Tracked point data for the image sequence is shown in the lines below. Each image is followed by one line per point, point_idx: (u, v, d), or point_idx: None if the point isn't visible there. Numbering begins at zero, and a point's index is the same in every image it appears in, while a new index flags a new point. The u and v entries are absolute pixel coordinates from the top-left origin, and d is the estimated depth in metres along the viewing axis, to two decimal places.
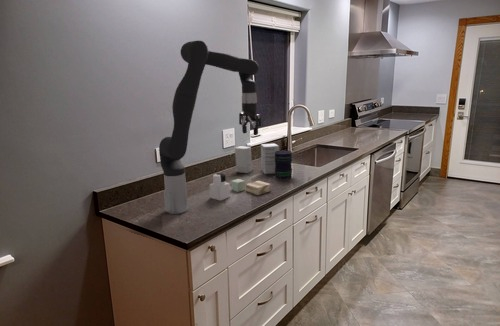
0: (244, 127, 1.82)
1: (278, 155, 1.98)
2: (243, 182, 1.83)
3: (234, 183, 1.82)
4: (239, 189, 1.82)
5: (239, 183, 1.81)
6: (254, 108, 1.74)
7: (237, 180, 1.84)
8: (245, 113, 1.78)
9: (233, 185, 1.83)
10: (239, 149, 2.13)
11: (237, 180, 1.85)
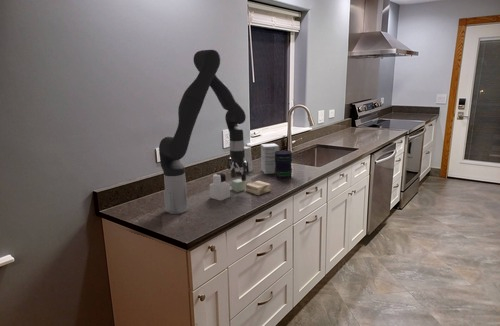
0: (233, 172, 1.86)
1: (278, 155, 1.98)
2: (243, 182, 1.83)
3: (234, 183, 1.82)
4: (239, 189, 1.82)
5: (239, 183, 1.81)
6: (242, 155, 1.78)
7: (237, 180, 1.84)
8: (233, 159, 1.82)
9: (233, 185, 1.83)
10: None
11: (237, 180, 1.85)
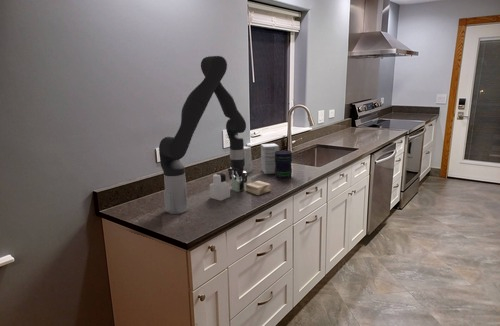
0: None
1: (278, 155, 1.98)
2: None
3: (234, 183, 1.82)
4: (239, 189, 1.82)
5: (239, 183, 1.81)
6: (242, 164, 1.79)
7: (237, 180, 1.84)
8: (233, 167, 1.83)
9: (233, 185, 1.83)
10: None
11: (237, 179, 1.85)
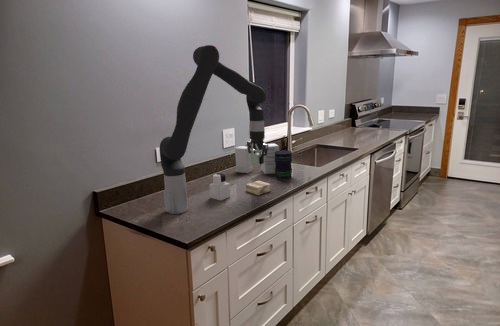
0: None
1: (278, 155, 1.98)
2: None
3: (253, 156, 1.76)
4: None
5: (259, 156, 1.75)
6: (262, 136, 1.73)
7: (256, 153, 1.78)
8: (252, 140, 1.77)
9: (252, 158, 1.77)
10: (239, 149, 2.13)
11: (256, 153, 1.79)
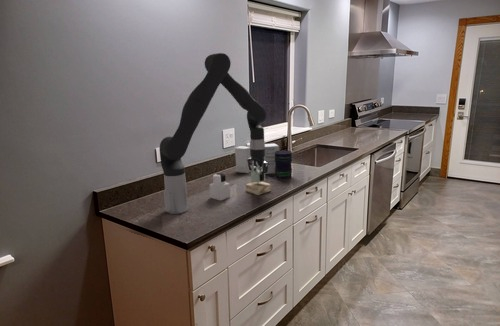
0: None
1: (278, 155, 1.98)
2: None
3: (254, 174, 1.78)
4: (259, 180, 1.78)
5: (259, 173, 1.77)
6: (262, 154, 1.75)
7: (257, 171, 1.80)
8: (253, 158, 1.79)
9: (253, 176, 1.79)
10: (239, 149, 2.13)
11: (257, 170, 1.81)
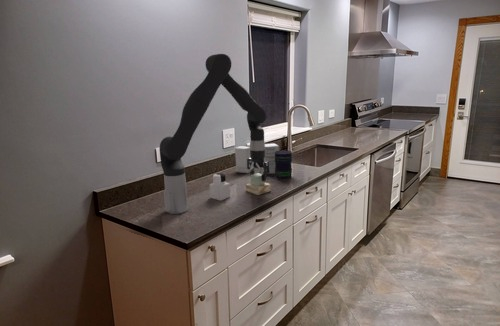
0: (252, 172, 1.83)
1: (278, 155, 1.98)
2: None
3: (253, 177, 1.79)
4: (259, 183, 1.78)
5: (259, 177, 1.78)
6: (262, 155, 1.75)
7: (256, 174, 1.81)
8: (253, 159, 1.79)
9: (252, 179, 1.80)
10: (239, 149, 2.13)
11: (256, 174, 1.81)
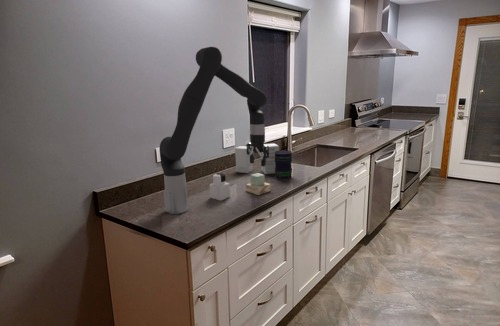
0: (251, 157, 1.81)
1: (278, 155, 1.98)
2: (263, 176, 1.79)
3: (253, 177, 1.79)
4: (258, 183, 1.79)
5: (258, 177, 1.78)
6: (262, 139, 1.73)
7: (256, 174, 1.81)
8: (253, 144, 1.77)
9: (252, 179, 1.80)
10: (239, 149, 2.13)
11: (256, 174, 1.81)
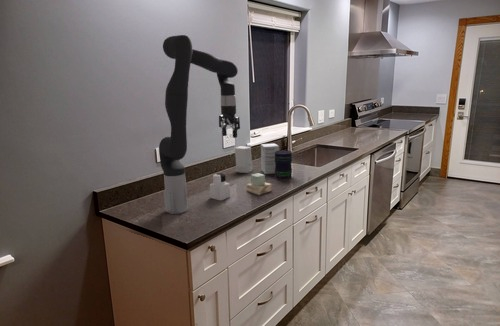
0: (224, 130, 1.81)
1: (278, 155, 1.98)
2: (263, 176, 1.79)
3: (254, 177, 1.79)
4: (259, 183, 1.78)
5: (259, 177, 1.78)
6: (233, 111, 1.73)
7: (257, 174, 1.81)
8: (224, 116, 1.77)
9: (253, 179, 1.80)
10: (239, 149, 2.13)
11: (257, 174, 1.81)
